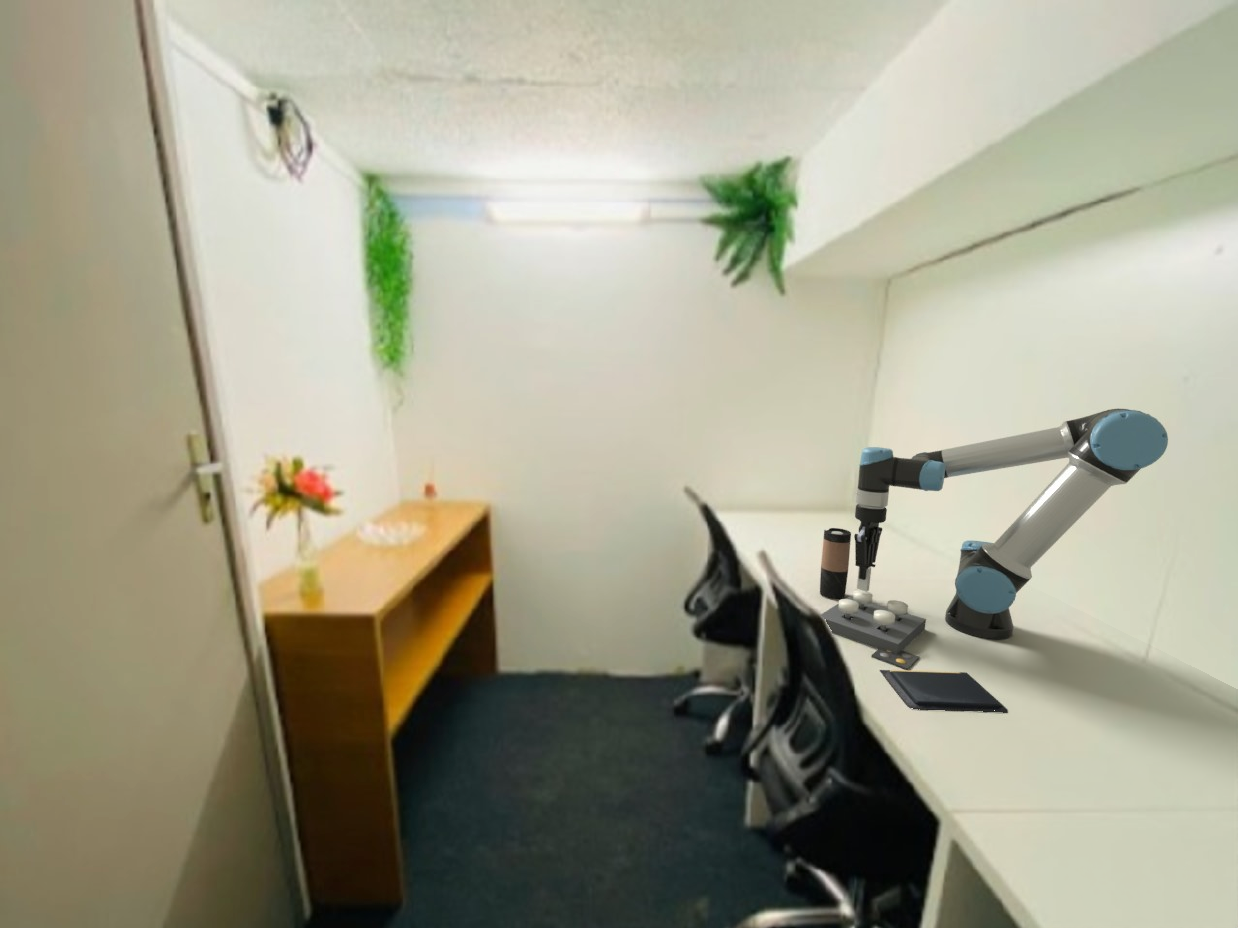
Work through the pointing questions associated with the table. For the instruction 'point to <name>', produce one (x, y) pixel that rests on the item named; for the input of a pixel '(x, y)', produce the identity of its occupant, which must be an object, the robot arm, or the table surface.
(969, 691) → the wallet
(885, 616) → the button
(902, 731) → the table surface
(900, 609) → the button
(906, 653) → the card
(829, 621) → the button board
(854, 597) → the button
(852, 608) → the button
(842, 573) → the travel mug
